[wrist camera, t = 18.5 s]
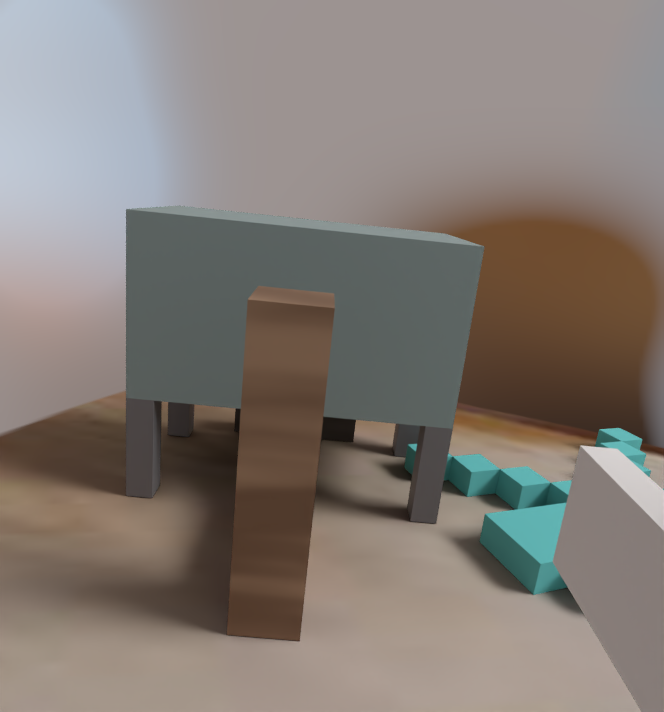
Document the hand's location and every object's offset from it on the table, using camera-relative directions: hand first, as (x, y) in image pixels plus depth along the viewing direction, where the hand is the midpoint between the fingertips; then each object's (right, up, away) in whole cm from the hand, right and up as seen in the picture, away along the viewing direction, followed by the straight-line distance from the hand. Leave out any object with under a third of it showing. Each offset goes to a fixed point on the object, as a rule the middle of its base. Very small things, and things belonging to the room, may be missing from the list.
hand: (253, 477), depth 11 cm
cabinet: (-1, -5, +26) cm, 26 cm away
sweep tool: (-1, -6, +22) cm, 23 cm away
